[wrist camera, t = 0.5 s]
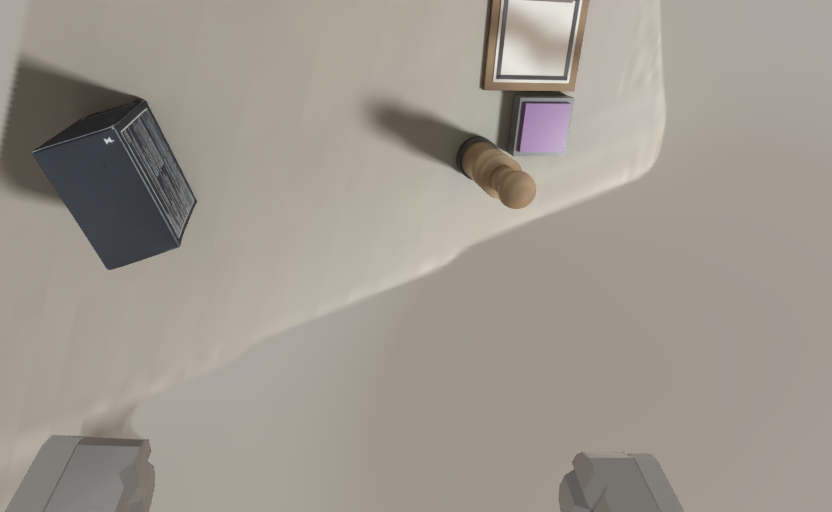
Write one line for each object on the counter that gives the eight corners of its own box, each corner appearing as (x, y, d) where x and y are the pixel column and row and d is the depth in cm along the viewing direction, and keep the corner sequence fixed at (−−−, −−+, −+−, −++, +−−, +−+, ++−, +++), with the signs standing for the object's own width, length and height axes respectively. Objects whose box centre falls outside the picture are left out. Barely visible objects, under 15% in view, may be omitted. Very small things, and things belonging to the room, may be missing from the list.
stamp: (458, 136, 55) (503, 172, 44) (497, 136, 56) (551, 170, 45) (455, 177, 57) (497, 221, 46) (493, 176, 58) (544, 218, 47)
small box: (72, 119, 46) (23, 150, 37) (145, 96, 47) (114, 121, 38) (134, 224, 51) (104, 274, 42) (199, 202, 52) (183, 247, 43)
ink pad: (514, 95, 55) (522, 98, 53) (566, 95, 56) (576, 98, 54) (507, 152, 57) (514, 157, 56) (557, 151, 59) (566, 156, 57)
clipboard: (493, -22, 49) (497, -22, 49) (589, -16, 52) (594, -16, 51) (482, 89, 54) (486, 91, 53) (572, 90, 56) (576, 91, 55)
